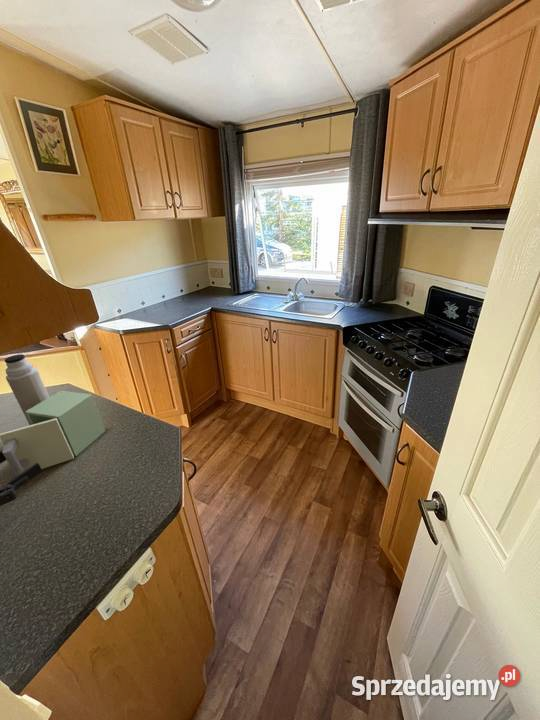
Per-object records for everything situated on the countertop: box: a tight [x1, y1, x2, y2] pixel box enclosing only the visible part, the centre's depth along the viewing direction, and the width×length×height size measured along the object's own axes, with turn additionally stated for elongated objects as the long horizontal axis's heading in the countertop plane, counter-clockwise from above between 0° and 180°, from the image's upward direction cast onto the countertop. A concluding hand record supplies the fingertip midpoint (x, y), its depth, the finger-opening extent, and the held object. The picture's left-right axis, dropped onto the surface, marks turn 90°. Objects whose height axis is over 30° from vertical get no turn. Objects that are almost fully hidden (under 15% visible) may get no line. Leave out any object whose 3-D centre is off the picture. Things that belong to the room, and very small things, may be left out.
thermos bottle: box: [4, 353, 50, 426], centre depth 96 cm, size 8×8×28 cm
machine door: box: [0, 418, 75, 477], centre depth 80 cm, size 7×13×14 cm, turn 118°
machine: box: [25, 390, 106, 457], centre depth 92 cm, size 12×13×15 cm
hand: (24, 459), depth 77 cm, fingers open, 13 cm apart
